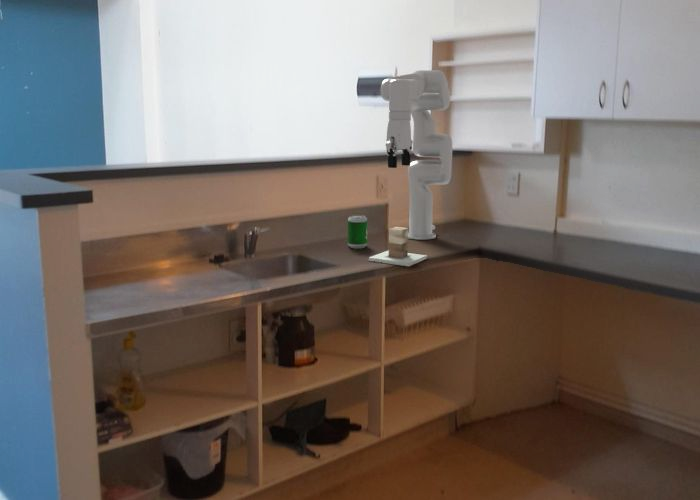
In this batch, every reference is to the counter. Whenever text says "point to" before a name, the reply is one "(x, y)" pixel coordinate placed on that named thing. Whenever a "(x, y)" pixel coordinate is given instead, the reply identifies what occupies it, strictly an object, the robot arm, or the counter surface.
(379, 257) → the build board
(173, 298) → the counter surface
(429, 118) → the robot arm
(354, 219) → the soda can
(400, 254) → the walnut cube
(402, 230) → the maple cube
